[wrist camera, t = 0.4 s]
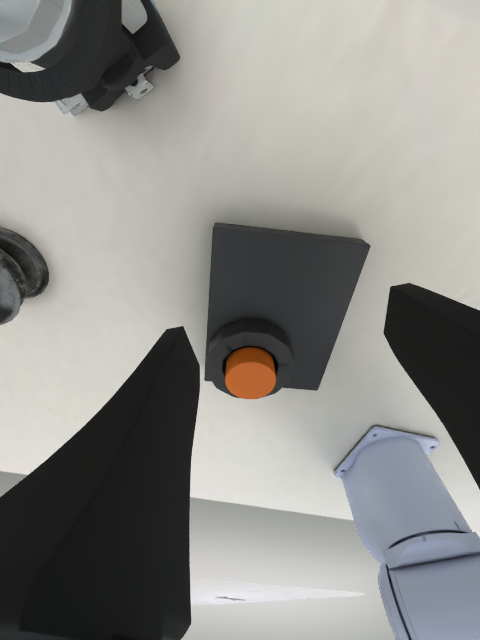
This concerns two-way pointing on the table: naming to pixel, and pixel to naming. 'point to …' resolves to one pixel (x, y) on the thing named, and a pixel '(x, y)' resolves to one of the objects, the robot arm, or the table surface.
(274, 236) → the orange button switch
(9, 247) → the grey tiered figurine
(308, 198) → the table surface
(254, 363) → the round orange button cap
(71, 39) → the white black upright piece
